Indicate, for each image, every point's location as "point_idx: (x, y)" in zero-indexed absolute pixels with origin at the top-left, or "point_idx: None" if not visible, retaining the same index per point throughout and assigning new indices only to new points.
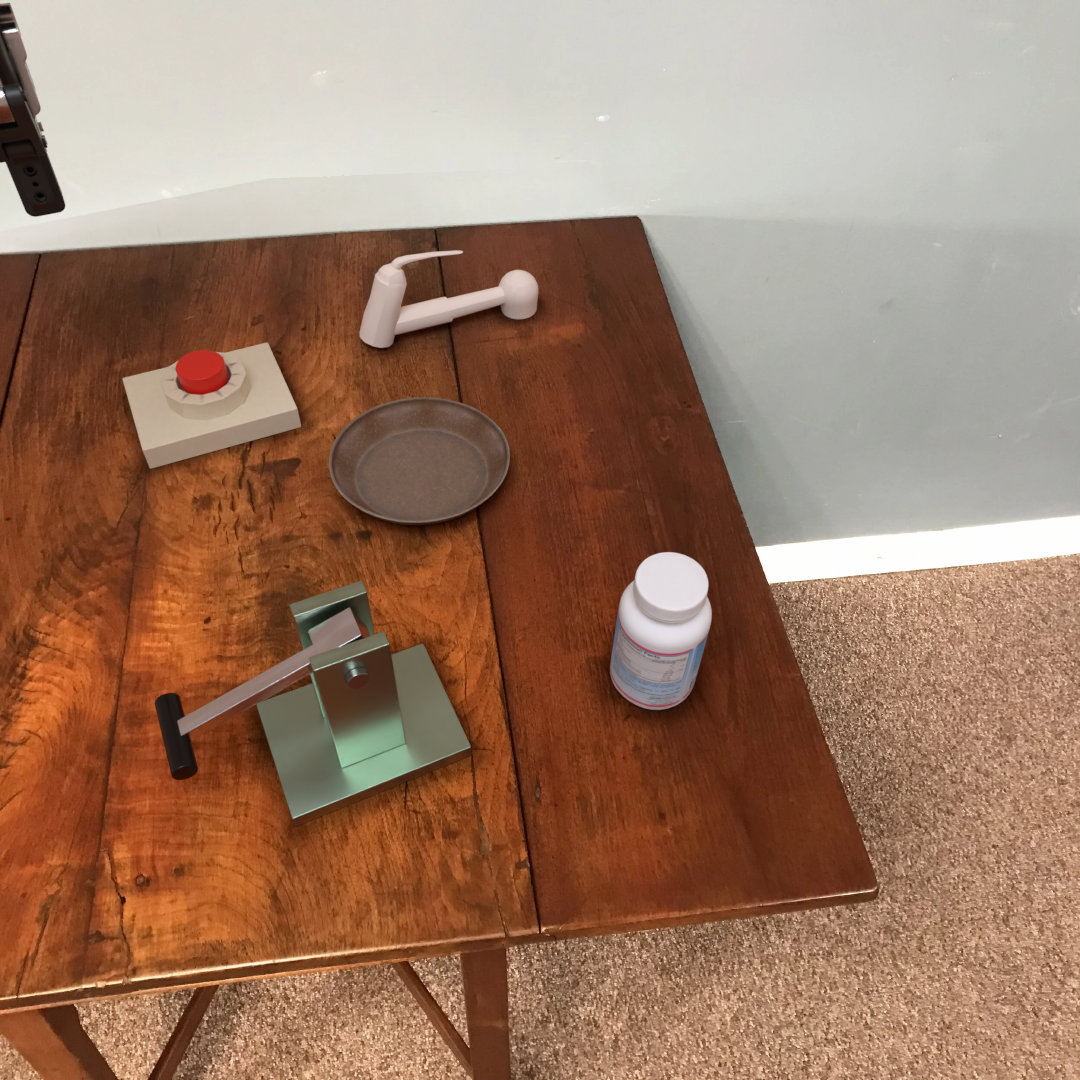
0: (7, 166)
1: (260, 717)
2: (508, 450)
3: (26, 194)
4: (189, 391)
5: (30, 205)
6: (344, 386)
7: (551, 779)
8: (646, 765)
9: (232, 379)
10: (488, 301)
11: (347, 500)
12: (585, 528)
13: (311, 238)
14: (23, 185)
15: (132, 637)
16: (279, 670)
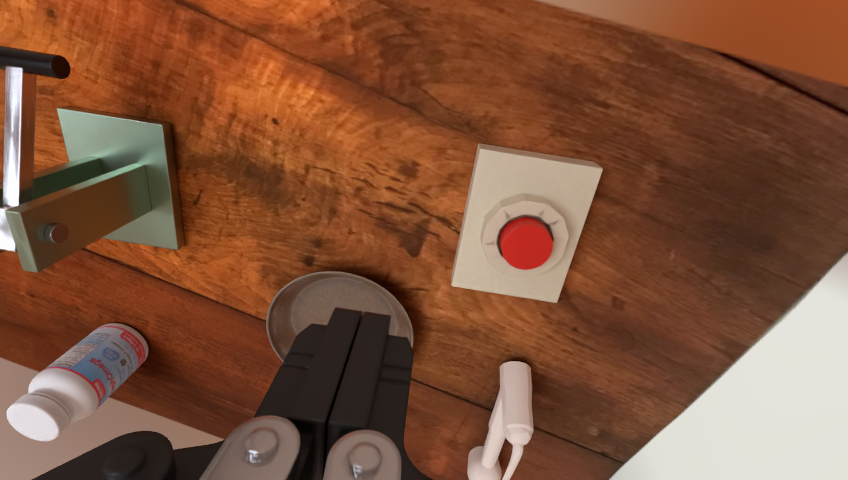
0: (298, 394)
1: (147, 122)
2: None
3: (288, 354)
4: (513, 221)
5: (298, 334)
6: (479, 322)
7: (68, 260)
8: (65, 306)
9: (503, 261)
10: (484, 452)
11: (317, 272)
12: (250, 375)
13: (698, 389)
14: (279, 373)
15: (282, 56)
16: (11, 169)
